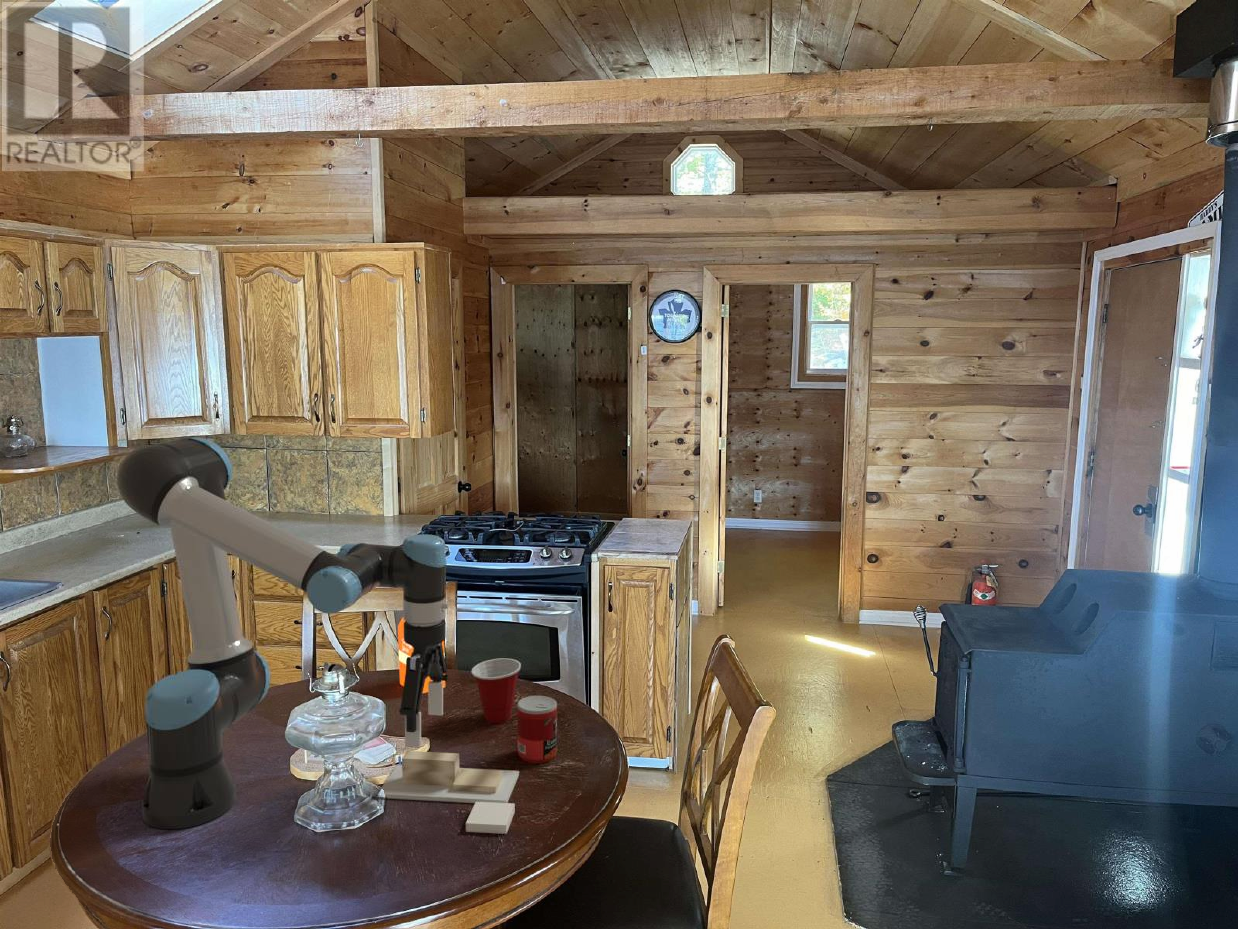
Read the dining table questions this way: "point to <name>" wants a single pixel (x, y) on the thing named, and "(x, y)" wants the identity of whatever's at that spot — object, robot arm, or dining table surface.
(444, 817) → the dining table surface
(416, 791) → the mat
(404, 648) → the orange juice
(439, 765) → the stepped wooden block
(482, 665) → the plastic cup
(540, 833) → the dining table surface
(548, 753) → the canned food
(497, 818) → the tile
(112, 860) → the dining table surface
